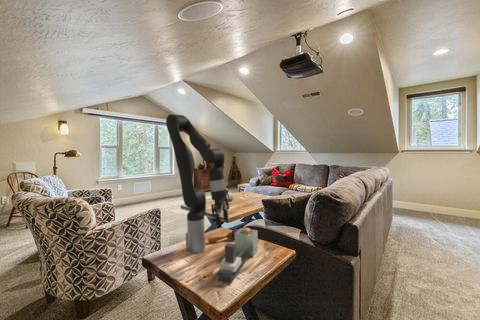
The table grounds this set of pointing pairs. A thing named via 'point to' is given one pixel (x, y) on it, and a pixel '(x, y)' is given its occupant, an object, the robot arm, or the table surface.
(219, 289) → the table surface
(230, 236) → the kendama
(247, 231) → the button
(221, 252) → the table surface
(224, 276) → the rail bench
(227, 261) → the carriage
